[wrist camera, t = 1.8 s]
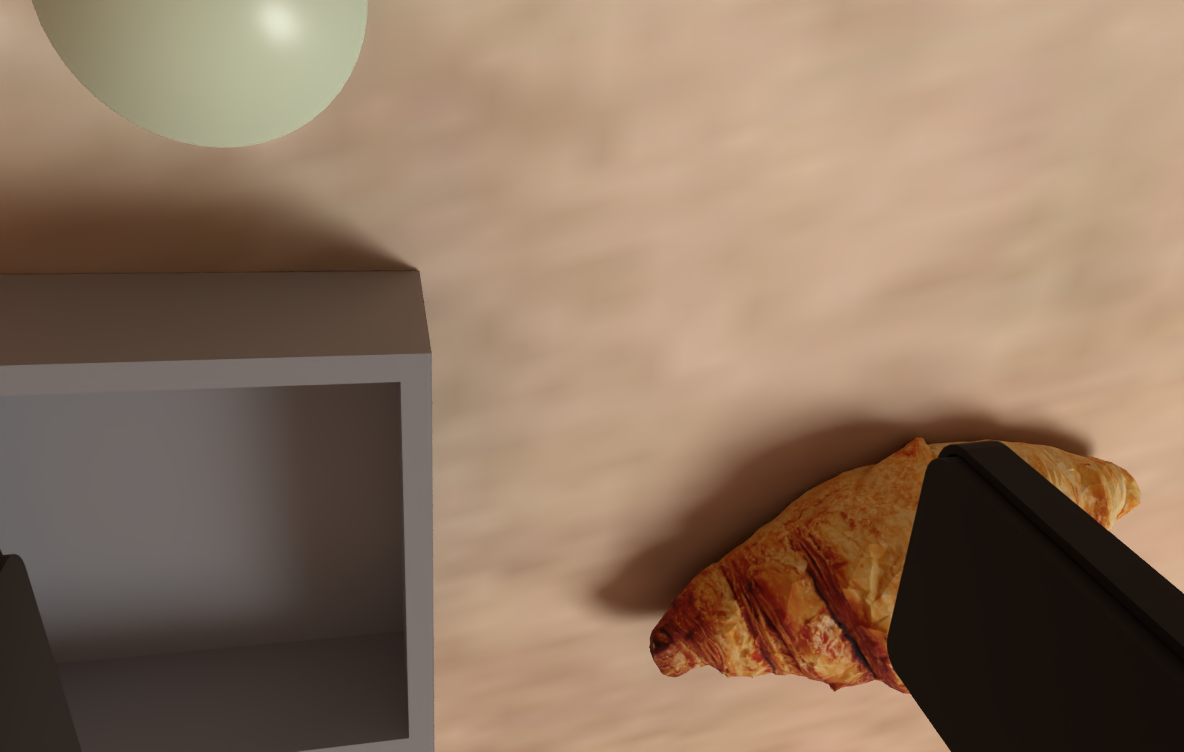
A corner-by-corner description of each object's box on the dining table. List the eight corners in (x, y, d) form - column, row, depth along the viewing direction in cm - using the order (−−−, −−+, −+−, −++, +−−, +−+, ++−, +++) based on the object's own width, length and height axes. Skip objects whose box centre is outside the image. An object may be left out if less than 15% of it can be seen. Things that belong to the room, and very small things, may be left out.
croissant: (1051, 367, 41) (1182, 365, 33) (1118, 579, 42) (1264, 628, 34) (602, 525, 39) (628, 564, 31) (677, 747, 40) (721, 841, 32)
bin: (-112, 275, 26) (-230, 372, 21) (419, 270, 29) (431, 353, 24) (1, 666, 32) (-68, 814, 27) (423, 627, 36) (434, 752, 31)
